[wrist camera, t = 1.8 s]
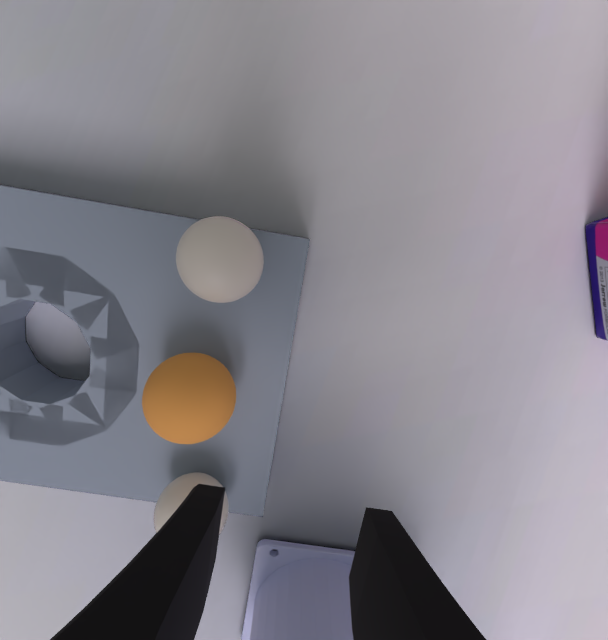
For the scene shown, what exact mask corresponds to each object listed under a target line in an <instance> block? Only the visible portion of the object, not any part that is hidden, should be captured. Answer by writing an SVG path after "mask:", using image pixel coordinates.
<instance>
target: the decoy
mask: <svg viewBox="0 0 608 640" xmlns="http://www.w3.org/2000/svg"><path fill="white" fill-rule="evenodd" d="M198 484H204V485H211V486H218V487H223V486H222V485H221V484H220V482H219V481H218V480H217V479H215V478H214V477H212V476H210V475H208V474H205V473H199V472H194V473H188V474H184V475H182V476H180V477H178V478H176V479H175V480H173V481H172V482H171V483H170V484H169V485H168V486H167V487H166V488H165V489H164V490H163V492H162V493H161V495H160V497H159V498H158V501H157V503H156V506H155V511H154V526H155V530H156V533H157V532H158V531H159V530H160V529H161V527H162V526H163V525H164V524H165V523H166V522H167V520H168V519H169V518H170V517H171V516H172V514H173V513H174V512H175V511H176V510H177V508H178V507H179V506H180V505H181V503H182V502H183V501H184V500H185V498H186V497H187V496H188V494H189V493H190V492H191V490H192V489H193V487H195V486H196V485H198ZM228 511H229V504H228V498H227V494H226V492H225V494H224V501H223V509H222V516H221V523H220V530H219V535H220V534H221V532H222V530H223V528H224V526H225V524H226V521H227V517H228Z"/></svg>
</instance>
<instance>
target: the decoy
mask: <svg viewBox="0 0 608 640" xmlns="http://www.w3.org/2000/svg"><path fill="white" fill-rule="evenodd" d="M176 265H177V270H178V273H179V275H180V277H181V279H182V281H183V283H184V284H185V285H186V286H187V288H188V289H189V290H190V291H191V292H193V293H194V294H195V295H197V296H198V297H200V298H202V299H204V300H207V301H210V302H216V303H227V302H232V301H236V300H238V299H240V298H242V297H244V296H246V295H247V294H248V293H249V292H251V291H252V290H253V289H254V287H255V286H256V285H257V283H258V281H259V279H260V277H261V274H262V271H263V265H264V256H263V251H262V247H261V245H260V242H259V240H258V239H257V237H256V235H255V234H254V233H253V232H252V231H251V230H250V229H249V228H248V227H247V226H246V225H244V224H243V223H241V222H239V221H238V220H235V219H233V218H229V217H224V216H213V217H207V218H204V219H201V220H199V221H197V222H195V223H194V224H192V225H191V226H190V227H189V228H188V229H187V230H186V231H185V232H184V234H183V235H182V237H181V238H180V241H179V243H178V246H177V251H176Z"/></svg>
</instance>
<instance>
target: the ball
mask: <svg viewBox="0 0 608 640" xmlns="http://www.w3.org/2000/svg"><path fill="white" fill-rule="evenodd" d="M235 403H236V387H235V383H234V380H233V378H232V376H231V374H230V372H229V371H228V369H227V368H226V367H225V366H224V365H223V364H222V363H221V362H220V361H218V360H217V359H215V358H213V357H211V356H209V355H206V354H202V353H195V352H193V353H182V354H178V355H175V356H173V357H170V358H168V359H167V360H165V361H164V362H162V363H161V364H160V365H158V366H157V367H156V368H155V370H154V371H153V372H152V373H151V375H150V376H149V378H148V380H147V382H146V384H145V386H144V390H143V395H142V407H143V413H144V416H145V418H146V421H147V422H148V424H149V426H150V427H151V428H152V430H153V431H154V432H155V433H156V434H158V435H159V436H160V437H162V438H163V439H165V440H167V441H170V442H173V443H177V444H195V443H199V442H203V441H205V440H208V439H209V438H211V437H213V436H214V435H216V434H217V433H218V432H220V431H221V430H222V429H223V428H224V426H225V425H226V424H227V423H228V421H229V419H230V418H231V416H232V414H233V411H234V408H235Z"/></svg>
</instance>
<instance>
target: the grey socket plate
mask: <svg viewBox="0 0 608 640" xmlns="http://www.w3.org/2000/svg"><path fill="white" fill-rule="evenodd" d="M199 220H200V219H194V218H189V217H183V216H177V215H171V214H166V213H160V212H154V211H148V210H143V209H137V208H131V207H126V206H120V205H114V204H108V203H103V202H97V201H91V200H85V199H80V198H74V197H68V196H63V195H57V194H51V193H45V192H40V191H34V190H28V189H22V188H17V187H11V186H5V185H0V481H6V482H13V483H21V484H28V485H35V486H42V487H50V488H57V489H64V490H71V491H78V492H86V493H93V494H100V495H107V496H115V497H122V498H129V499H136V500H143V501H151V502H157V501H158V498H159V497H160V495H161V493H162V492H163V490H164V489H165V488H166V487H167V486H168V485H169V484H170V483H171V482H172V481H173V480H175V479H176V478H178V477H180V476H182V475H184V474H188V473H194V472H199V473H205V474H208V475H210V476H212V477H214V478H215V479H217V480H218V481H219V482H220V484H221V485H222V486H223V487H225V492H226V494H227V498H228V504H229V511H228V512H230V513H237V514H245V515H252V516H259V517H263V512H264V506H265V500H266V494H267V489H268V483H269V477H270V471H271V465H272V459H273V453H274V447H275V442H276V436H277V430H278V424H279V418H280V412H281V406H282V400H283V394H284V389H285V383H286V377H287V371H288V365H289V359H290V353H291V347H292V341H293V336H294V330H295V324H296V318H297V312H298V306H299V300H300V294H301V288H302V283H303V277H304V271H305V265H306V259H307V253H308V247H309V241H310V239H309V238H303V237H297V236H292V235H286V234H280V233H275V232H269V231H263V230H257V229H252V228H249V229H250V230H251V231H252V232H253V233H254V234H255V235H256V237H257V239H258V240H259V242H260V245H261V247H262V251H263V256H264V265H263V271H262V274H261V277H260V279H259V281H258V283H257V285H256V286H255V287H254V289H253V290H252V291H251V292H249V293H248V294H247V295H246V296H244V297H242V298H240V299H238V300H236V301H232V302H227V303H216V302H210V301H207V300H204V299H202V298H200V297H198V296H197V295H195V294H194V293H193V292H191V291H190V290H189V289H188V288H187V286H186V285H185V284H184V283H183V281H182V279H181V277H180V275H179V273H178V270H177V265H176V251H177V246H178V243H179V241H180V238H181V237H182V235H183V234H184V232H185V231H186V230H187V229H188V228H189V227H190V226H191V225H192V224H194V223H195V222H197V221H199ZM35 302H42V303H49V304H51V305H53V306H54V307H56V308H57V309H58V310H60V311H61V312H63V313H64V314H66V315H67V316H68V317H70V318H71V319H73V320H74V321H75V322H77V324H78V326H79V328H80V330H81V332H82V334H83V335H84V337H85V339H86V341H87V343H88V345H89V347H90V348H91V350H90V376H89V377H88V378H87V380H86V381H80V380H74V379H67V378H61V377H58V376H57V375H55V374H54V373H52V372H51V371H50V370H48V369H47V368H45V367H44V366H42V365H41V364H39V363H38V362H37V360H36V358H35V356H34V355H33V353H32V351H31V350H30V348H29V346H28V344H27V343H26V339H25V317H26V315H27V314H28V312H29V311H30V309H31V308H32V306H33V305H34V303H35ZM193 352H195V353H202V354H206V355H209V356H211V357H213V358H215V359H217V360H218V361H220V362H221V363H222V364H223V365H224V366H225V367H226V368H227V369H228V371H229V372H230V374H231V376H232V378H233V380H234V383H235V387H236V403H235V408H234V411H233V414H232V416H231V418H230V419H229V421H228V423H227V424H226V425H225V426H224V428H223V429H222V430H221V431H220V432H218V433H217V434H216V435H214V436H213V437H211V438H209V439H208V440H205V441H203V442H199V443H195V444H177V443H173V442H170V441H167V440H165V439H163V438H162V437H160V436H159V435H158V434H156V433H155V432H154V431H153V430H152V428H151V427H150V426H149V424H148V422H147V421H146V418H145V416H144V413H143V407H142V395H143V390H144V386H145V384H146V382H147V380H148V378H149V376H150V375H151V373H152V372H153V371H154V370H155V368H156V367H157V366H158V365H160V364H161V363H162V362H164V361H165V360H167V359H168V358H170V357H173V356H175V355H178V354H182V353H193Z"/></svg>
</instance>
